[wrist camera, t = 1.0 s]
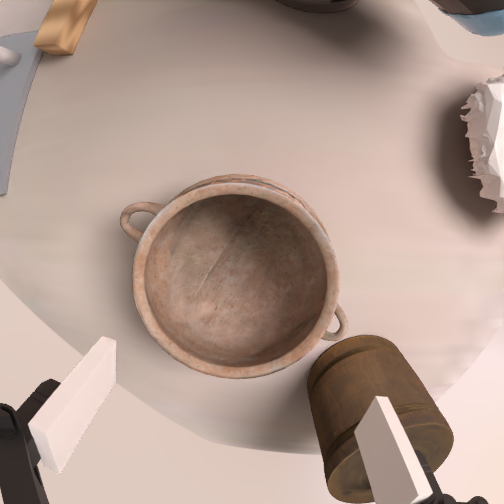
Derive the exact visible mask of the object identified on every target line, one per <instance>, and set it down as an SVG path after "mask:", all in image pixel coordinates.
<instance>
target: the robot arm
mask: <svg viewBox="0 0 504 504" xmlns="http://www.w3.org/2000/svg"><path fill="white" fill-rule="evenodd" d="M277 1H279V2H281V3H283V4H285V5H287V6H289V7H292V8H295V9H299V10H303V11H308V12H315V13H332V12H338V11H342V10H345V9H348V8H350V7H352V6H353V5H355V4H356V3H357V2H358V1H359V0H277ZM429 1H431V2H432V3H433V4H435V5H436V6H437V7H438V9H439V10H440V11H441V12H442V13H444V14H446V15H448V16H450V17H452V18H453V19H454V20H455V21H456V22H458V23H459V24H460V25H461V26H463V27H464V28H465V29H466V30H468V31H469V32H471V33H474V34H478V35H481V36H496V35H501V34H504V0H429ZM115 383H116V341H115V340H113V339H110V338H107V337H104V336H102V337H101V338H100V339H99V340H98V341H97V343H96V344H95V345H94V346H93V347H92V348H91V349H90V350H89V352H88V353H87V354H86V355H85V356H84V357H83V359H82V360H81V361H80V362H79V363H78V364H77V365H76V367H75V368H74V369H73V370H72V371H71V372H70V374H69V375H68V376H67V377H66V378H65V379H64V381H63V382H62V383H60V382H57V381H55V380H53V379H49V380H47V381H45V382H43V383H41V384H40V385H39V386H38V387H37V389H36V390H35V392H33V393H32V394H31V395H30V397H28V399H27V400H26V401H25V402H24V403H23V404H22V405H21V407H20V408H19V409H18V410H17V411H15V410H14V409H13V408H12V407H11V406H9V405H7V404H3V403H0V489H1V493H2V497H3V501H4V504H49V502H48V499H47V496H46V493H45V490H44V487H43V483H42V480H41V477H40V473H39V469H38V466H37V464H38V462H39V460H40V459H41V460H42V462H43V465H44V466H45V467H47V468H49V469H51V470H53V471H54V472H56V473H58V474H60V473H61V472H62V470H63V468H64V467H65V464H66V463H67V461H68V459H69V458H70V456H71V454H72V453H73V451H74V450H75V448H76V446H77V444H78V443H79V441H80V439H81V438H82V436H83V434H84V433H85V431H86V429H87V428H88V426H89V425H90V423H91V421H92V420H93V418H94V416H95V415H96V413H97V411H98V410H99V408H100V406H101V405H102V404H103V402H104V400H105V399H106V397H107V396H108V394H109V392H110V391H111V389H112V388H113V386H114V384H115ZM354 433H355V436H356V439H357V443H358V446H359V449H360V452H361V456H362V459H363V462H364V465H365V469H366V472H367V475H368V479H369V482H370V486H371V489H372V492H373V496H374V499H375V503H376V504H488V502H487V501H486V500H485V499H484V498H483V497H480V496H475V497H473V498H472V499H471V500H470V501H468V502H467V503H465V502H456V501H455V499H454V498H453V497H452V496H450V495H448V494H442V492H441V489H440V487H439V485H438V483H437V481H436V479H435V476H434V474H433V472H431V471H432V470H431V468H430V466H428V465H429V464H428V462H427V460H426V458H425V456H424V455H423V454H422V453H421V452H420V451H419V450H413V448H412V446H411V443H410V441H409V439H408V437H407V435H406V433H405V431H404V429H403V427H402V425H401V423H400V421H399V419H398V417H397V415H396V413H395V411H394V409H393V407H392V405H391V403H390V401H389V399H388V397H381V396H375V398H374V400H373V401H372V403H371V405H370V407H369V408H368V410H367V412H366V413H365V415H364V417H363V418H362V420H361V421H360V423H359V425H358V426H357V428H356V429H355V431H354Z"/></svg>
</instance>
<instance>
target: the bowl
mask: <svg viewBox="0 0 504 504" xmlns="http://www.w3.org/2000/svg"><path fill="white" fill-rule="evenodd" d="M475 88H476V89H478V90H477V92H476V93H475V94H472V93H471V95H470V97H469V98H468V99H467V102H466V103H468V104H466V105H464V106H462V107H461V109H468V108H471V110H470V112H469V113H468V114H467V115H466V116H463V115H460V117H461V120H462V121H466V122H468V124H467V127H468V132H467V134H466V135H465V137H469V142H470V151H471V154H472V156H470V157H473V159H472V160H469V161H474V163H473V168H474V169H471V170H473V171H476V174H474V175H476V176H469V177H471V178H477V179H481V182H482V185H483V188H482V190H481V191H480V192H479V193H480V197H483V198H487V199H491V200H495V201H496V202H497V207H496V208H495V209H494V210H493V211H492V212H497V213H504V75H501V76H499V77H497V78H490V79H489V78H488V80H487V82H486V83H479V84H478V85H477V86H476V87H475ZM503 215H504V214H503Z"/></svg>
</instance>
